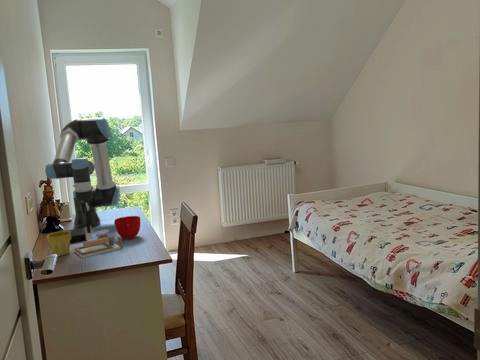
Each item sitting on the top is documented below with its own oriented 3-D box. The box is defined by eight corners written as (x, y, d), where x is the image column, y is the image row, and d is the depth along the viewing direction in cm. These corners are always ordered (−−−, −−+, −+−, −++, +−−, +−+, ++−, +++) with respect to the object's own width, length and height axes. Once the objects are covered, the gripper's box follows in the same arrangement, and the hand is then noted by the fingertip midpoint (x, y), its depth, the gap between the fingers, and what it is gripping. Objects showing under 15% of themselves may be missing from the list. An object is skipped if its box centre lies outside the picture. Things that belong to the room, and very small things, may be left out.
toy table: (101, 240, 230) (100, 229, 230) (116, 240, 228) (115, 229, 227) (90, 245, 221) (88, 234, 220) (105, 245, 219) (104, 234, 218)
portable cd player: (53, 239, 241) (52, 232, 240) (86, 234, 247) (85, 227, 246) (52, 247, 225) (50, 239, 225) (87, 241, 231) (86, 233, 231)
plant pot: (49, 259, 203) (46, 238, 201) (49, 253, 212) (46, 233, 211) (73, 254, 207) (71, 234, 205) (72, 249, 216) (69, 229, 215)
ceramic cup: (116, 244, 219) (114, 224, 217) (116, 236, 235) (114, 218, 234) (143, 240, 222) (141, 221, 221) (141, 233, 238) (139, 214, 237)
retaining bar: (113, 239, 217) (112, 235, 216) (115, 240, 214) (115, 236, 214) (82, 246, 209) (82, 242, 208) (84, 247, 206) (84, 243, 206)
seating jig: (74, 251, 211) (72, 240, 211) (113, 243, 222) (112, 232, 221) (81, 257, 201) (80, 245, 200) (122, 248, 211) (121, 236, 211)
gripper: (72, 190, 214) (78, 238, 217) (77, 193, 203) (83, 243, 206) (88, 188, 218) (94, 235, 221) (94, 190, 206) (100, 240, 209)
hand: (89, 239), depth 213 cm, fingers closed
